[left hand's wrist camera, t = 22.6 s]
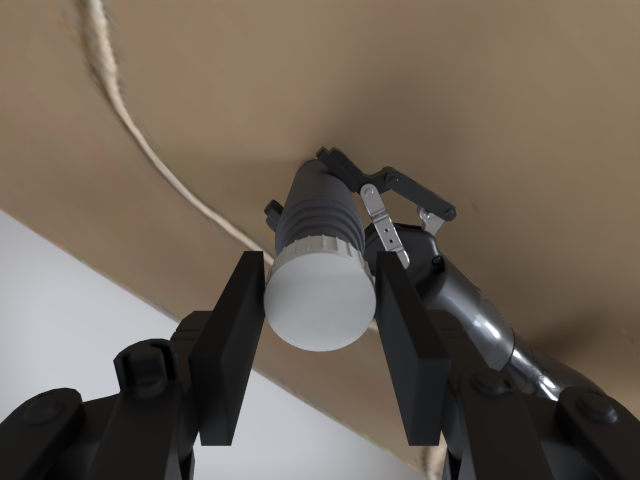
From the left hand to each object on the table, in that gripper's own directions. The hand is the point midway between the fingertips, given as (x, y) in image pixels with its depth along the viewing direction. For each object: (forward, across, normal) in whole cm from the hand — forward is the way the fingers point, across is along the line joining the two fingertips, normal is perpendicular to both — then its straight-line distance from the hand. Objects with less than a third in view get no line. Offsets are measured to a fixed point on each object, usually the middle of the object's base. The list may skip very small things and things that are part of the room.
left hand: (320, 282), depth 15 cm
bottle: (+19, 0, 0) cm, 19 cm away
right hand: (+13, -2, +2) cm, 13 cm away
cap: (-2, 0, 0) cm, 2 cm away
